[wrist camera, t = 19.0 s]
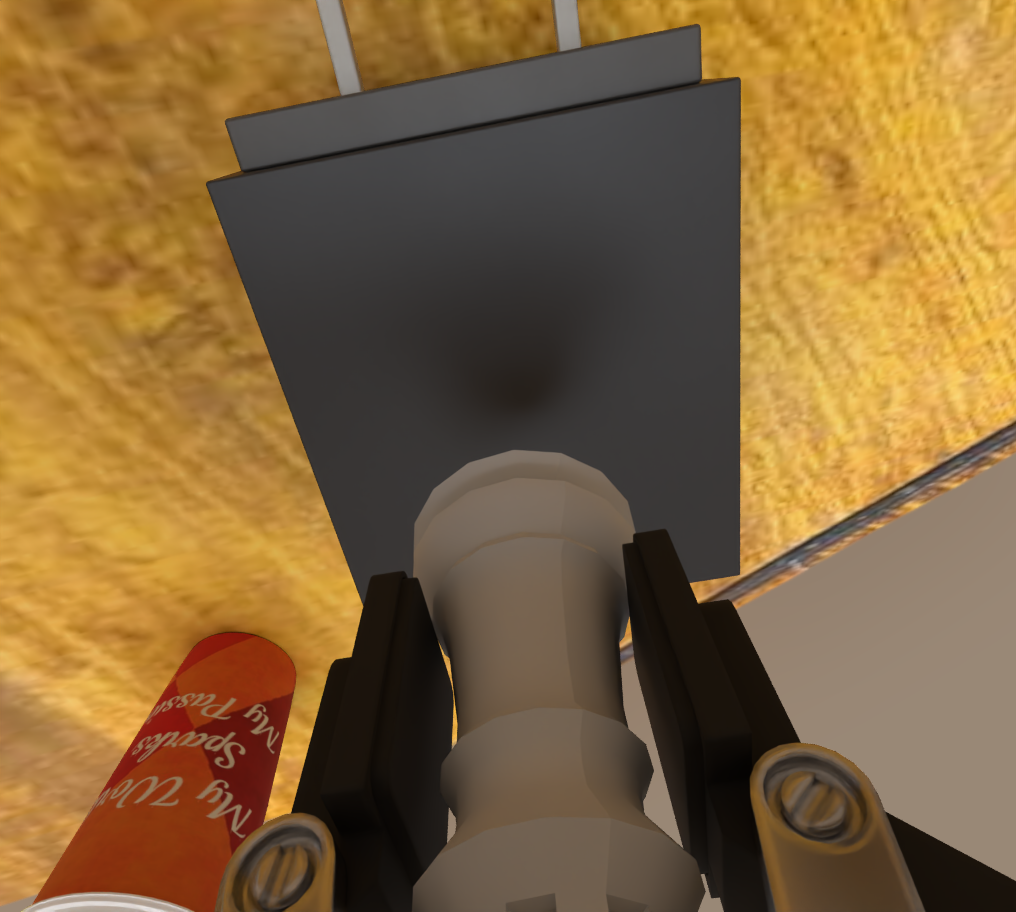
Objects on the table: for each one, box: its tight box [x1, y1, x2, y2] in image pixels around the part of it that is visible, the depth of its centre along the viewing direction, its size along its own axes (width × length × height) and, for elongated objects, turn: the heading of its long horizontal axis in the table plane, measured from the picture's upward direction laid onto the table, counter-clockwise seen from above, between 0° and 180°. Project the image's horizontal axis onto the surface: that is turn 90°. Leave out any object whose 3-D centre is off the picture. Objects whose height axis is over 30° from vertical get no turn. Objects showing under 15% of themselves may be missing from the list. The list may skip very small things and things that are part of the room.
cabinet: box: [206, 77, 741, 606], centre depth 23 cm, size 15×13×10 cm
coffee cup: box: [21, 633, 296, 912], centre depth 30 cm, size 8×8×15 cm
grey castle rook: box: [412, 450, 706, 912], centre depth 10 cm, size 4×4×8 cm
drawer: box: [225, 0, 702, 172], centre depth 21 cm, size 18×11×8 cm, turn 10°
